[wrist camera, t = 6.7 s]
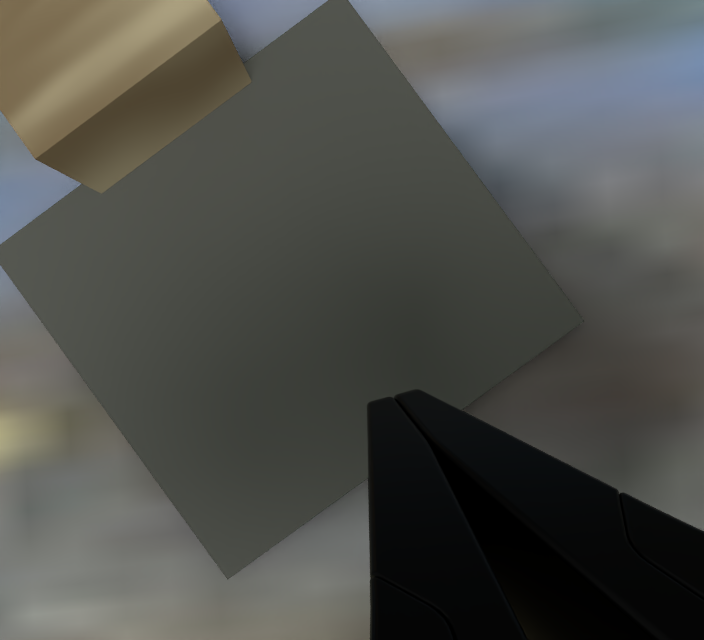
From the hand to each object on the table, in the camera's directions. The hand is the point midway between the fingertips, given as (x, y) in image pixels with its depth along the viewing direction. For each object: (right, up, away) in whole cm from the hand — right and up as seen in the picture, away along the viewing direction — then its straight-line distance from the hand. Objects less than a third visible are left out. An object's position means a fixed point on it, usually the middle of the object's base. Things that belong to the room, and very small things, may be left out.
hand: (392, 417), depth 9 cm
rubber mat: (-3, +3, +10) cm, 10 cm away
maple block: (-6, +7, +8) cm, 12 cm away
